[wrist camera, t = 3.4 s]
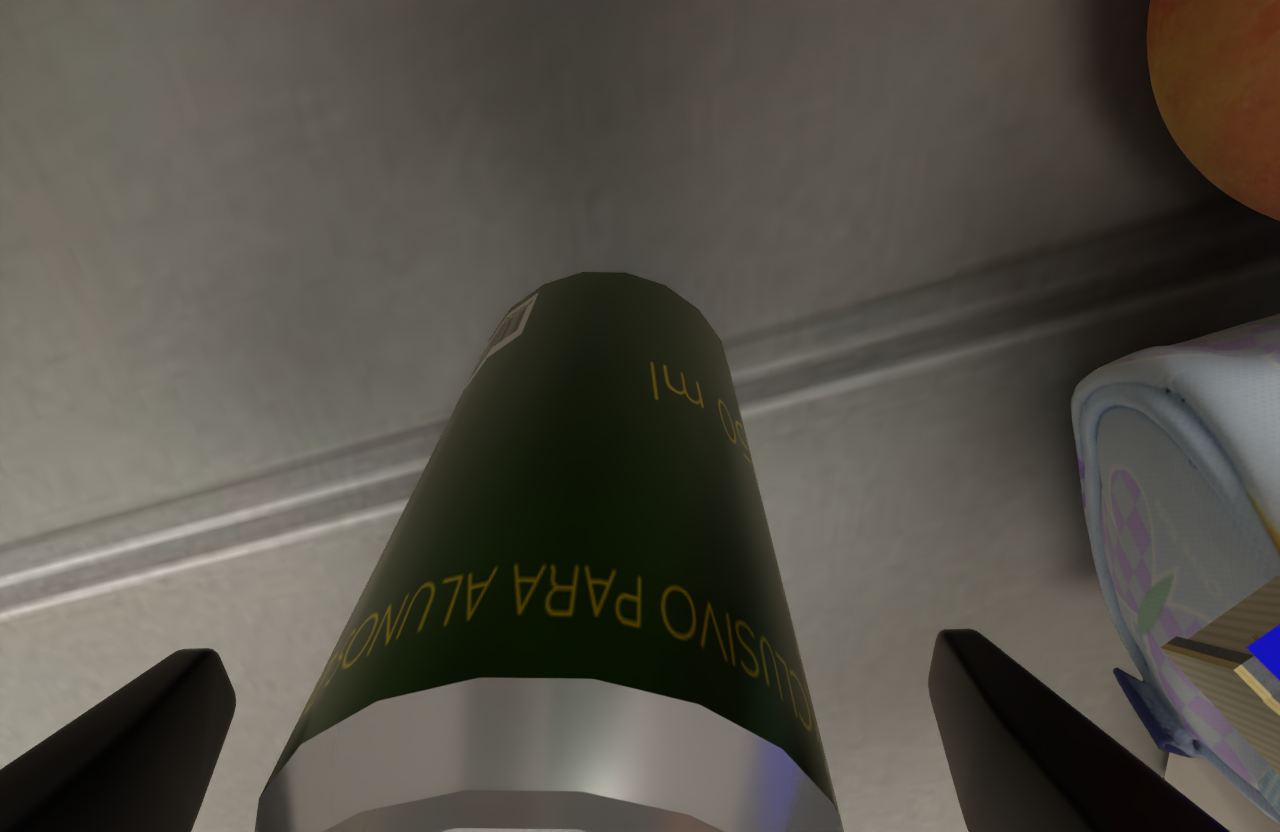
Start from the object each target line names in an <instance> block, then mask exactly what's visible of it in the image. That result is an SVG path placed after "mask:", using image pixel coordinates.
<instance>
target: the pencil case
mask: <svg viewBox="0 0 1280 832" xmlns="http://www.w3.org/2000/svg"><path fill="white" fill-rule="evenodd" d="M1071 415H1072V423H1073V430H1074V436H1075V443H1076V450H1077V458H1078V465H1079V473H1080V481H1081V489H1082V498H1083V506H1084V512H1085V518H1086V524H1087V529H1088V533H1089V537H1090V544H1091V550H1092V555H1093V559H1094V563H1095V567H1096V571H1097V575H1098V579H1099V583H1100V587H1101V591H1102V594H1103V596H1104V599H1105V602H1106V604H1107V607H1108V609H1109V612H1110V615H1111V617H1112V620H1113V622H1114V624H1115V627H1116V629H1117V631H1118V633H1119V635H1120V638H1121V640H1122V642H1123V644H1124V645H1125V647H1126V649H1127V651H1128V653H1129V655H1130V656H1131V658H1132V660H1133V662H1134V663H1135V665H1136V667H1137V668H1138V670H1139V672H1140V673H1141V675H1142V677H1143V681H1140V680H1138V679H1136V678H1135V677H1133V676H1131V675H1129V674H1127V673H1126V672H1124V671H1122V670H1120V669H1119V668H1115V669H1113V673H1114V675H1115V677H1116V678H1117V680H1118V682H1119V684H1120V686H1121V688H1122V689H1123V691H1124V693H1125V695H1126V696H1127V698H1128V700H1129V701H1130V703H1131V705H1132V706H1133V708H1134V710H1135V711H1136V713H1137V715H1138V716H1139V718H1140V719H1141V721H1142V722H1143V724H1144V725H1145V727H1146V728H1147V730H1148V732H1149V733H1150V735H1151V737H1152V738H1153V740H1154V741H1155V743H1156V745H1157V746H1158V748H1159V749H1162V750H1164V751H1167V752H1170V753H1173V754H1177V755H1180V756H1184V757H1188V758H1198V759H1204V760H1207V761H1208V762H1210V763H1211V764H1212V765H1213V766H1214V767H1215V768H1216V769H1217V770H1218V771H1219V772H1220V773H1221V774H1222V775H1223V776H1224V777H1225V778H1226V779H1227V780H1228V781H1229V782H1230V783H1231V784H1232V785H1233V786H1234V787H1235V788H1236V789H1237V790H1238V791H1239V792H1240V793H1241V794H1242V795H1244V796H1245V797H1246V798H1247V799H1248V800H1250V801H1251V802H1252V803H1253V804H1254V805H1255V806H1257V807H1258V808H1259V809H1260V810H1261V811H1263V812H1264V813H1265V814H1266V815H1267V816H1269V817H1270V818H1272V819H1273V820H1274V821H1276V822H1277V823H1278V824H1280V775H1279V774H1278V773H1277V772H1276V771H1275V770H1274V769H1273V768H1272V767H1271V765H1270V764H1269V763H1268V762H1267V761H1266V760H1265V759H1264V758H1263V757H1262V756H1261V755H1260V754H1259V753H1258V752H1257V751H1256V750H1255V748H1254V747H1253V746H1252V745H1251V744H1250V743H1249V742H1248V741H1247V740H1246V739H1245V738H1244V737H1243V736H1242V735H1241V734H1240V733H1239V731H1238V730H1237V729H1236V728H1235V727H1234V726H1233V725H1232V724H1231V723H1230V722H1229V721H1228V720H1227V719H1226V718H1225V717H1224V715H1223V714H1222V713H1221V712H1220V711H1219V710H1218V709H1217V708H1216V707H1215V706H1214V705H1213V704H1212V703H1211V702H1210V701H1209V700H1208V698H1207V697H1206V696H1205V695H1204V694H1203V693H1202V692H1201V691H1200V690H1199V689H1198V688H1197V687H1196V686H1195V685H1194V684H1193V683H1192V681H1191V680H1190V679H1189V678H1188V677H1187V676H1186V675H1185V674H1184V673H1183V672H1182V671H1181V670H1180V669H1179V668H1178V667H1177V666H1176V664H1175V663H1174V662H1173V661H1172V660H1171V659H1170V658H1169V657H1168V656H1167V655H1166V654H1165V653H1164V652H1163V651H1162V650H1161V648H1160V647H1162V646H1163V645H1165V644H1166V643H1167V642H1169V641H1170V640H1172V639H1173V638H1174V637H1176V636H1178V637H1182V638H1186V639H1188V638H1190V637H1191V636H1192V635H1194V634H1195V633H1197V632H1198V631H1200V630H1201V629H1202V628H1204V627H1205V626H1207V625H1208V624H1209V623H1211V622H1212V621H1214V620H1215V619H1217V618H1218V617H1219V616H1221V615H1222V614H1224V613H1225V612H1227V611H1228V610H1229V609H1231V608H1232V607H1234V606H1235V605H1236V604H1238V603H1239V602H1241V601H1242V600H1244V599H1245V598H1246V597H1248V596H1249V595H1251V594H1252V593H1253V592H1255V591H1256V590H1258V589H1259V588H1261V587H1262V586H1263V585H1265V584H1266V583H1268V582H1269V581H1270V580H1272V579H1273V578H1275V577H1276V576H1278V575H1279V574H1280V314H1278V315H1274V316H1271V317H1267V318H1263V319H1260V320H1256V321H1252V322H1248V323H1245V324H1241V325H1238V326H1235V327H1232V328H1228V329H1225V330H1222V331H1218V332H1215V333H1212V334H1208V335H1205V336H1202V337H1199V338H1195V339H1192V340H1189V341H1185V342H1181V343H1177V344H1173V345H1169V346H1155V347H1149V348H1146V349H1143V350H1140V351H1137V352H1134V353H1131V354H1129V355H1127V356H1125V357H1122V358H1120V359H1118V360H1115V361H1113V362H1111V363H1108V364H1106V365H1104V366H1102V367H1099V368H1097V369H1096V370H1094V371H1093V372H1092V373H1090V374H1089V375H1087V376H1086V377H1085V378H1084V379H1083V380H1082V381H1080V382H1079V384H1078V385H1077V386H1076V387H1075V390H1074V394H1073V396H1072V399H1071Z"/></svg>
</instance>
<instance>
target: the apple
mask: <svg viewBox="0 0 1280 832" xmlns="http://www.w3.org/2000/svg"><path fill="white" fill-rule="evenodd" d="M1147 58H1148V66H1149V72H1150V78H1151V84H1152V89H1153V92H1154V96H1155V99H1156V102H1157V105H1158V108H1159V110H1160V113H1161V116H1162V118H1163V120H1164V122H1165V124H1166V126H1167V128H1168V130H1169V132H1170V134H1171V135H1172V137H1173V139H1174V141H1175V142H1176V143H1177V145H1178V146H1179V147H1180V149H1181V150H1182V151H1183V153H1184V154H1185V156H1186V157H1187V158H1188V160H1189V161H1190V162H1191V163H1192V164H1193V165H1194V166H1195V167H1196V168H1197V169H1198V170H1199V171H1200V172H1201V173H1202V174H1203V175H1204V176H1205V177H1206V178H1207V179H1208V180H1209V181H1211V182H1212V183H1213V184H1214V185H1215V186H1217V187H1218V188H1219V189H1221V190H1222V191H1223V192H1225V193H1226V194H1228V195H1229V196H1230V197H1232V198H1234V199H1235V200H1237V201H1239V202H1241V203H1242V204H1244V205H1246V206H1248V207H1249V208H1251V209H1253V210H1255V211H1257V212H1259V213H1262V214H1264V215H1267V216H1269V217H1271V218H1274V219H1276V220H1279V221H1280V0H1150V6H1149V12H1148V25H1147Z"/></svg>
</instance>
